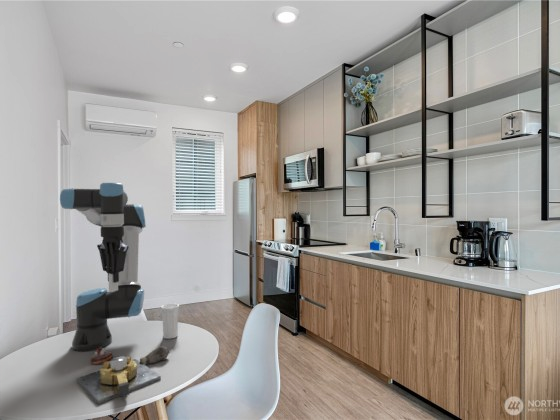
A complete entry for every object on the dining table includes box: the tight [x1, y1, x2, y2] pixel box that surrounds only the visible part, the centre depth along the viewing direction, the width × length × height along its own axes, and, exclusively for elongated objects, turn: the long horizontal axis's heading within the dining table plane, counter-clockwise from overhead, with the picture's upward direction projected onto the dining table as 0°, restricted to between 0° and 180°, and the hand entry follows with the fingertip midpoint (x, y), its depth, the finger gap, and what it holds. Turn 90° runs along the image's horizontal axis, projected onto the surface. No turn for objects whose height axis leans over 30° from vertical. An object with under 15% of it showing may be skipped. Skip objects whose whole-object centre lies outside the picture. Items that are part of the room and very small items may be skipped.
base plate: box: [76, 355, 162, 405], centre depth 115 cm, size 21×20×7 cm
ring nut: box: [99, 356, 137, 398], centre depth 111 cm, size 20×11×4 cm, turn 31°
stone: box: [139, 345, 170, 366], centre depth 129 cm, size 10×5×8 cm
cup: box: [160, 302, 180, 340], centre depth 154 cm, size 8×8×14 cm
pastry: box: [90, 347, 113, 366], centre depth 131 cm, size 8×8×5 cm
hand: (113, 290), depth 122 cm, fingers closed
